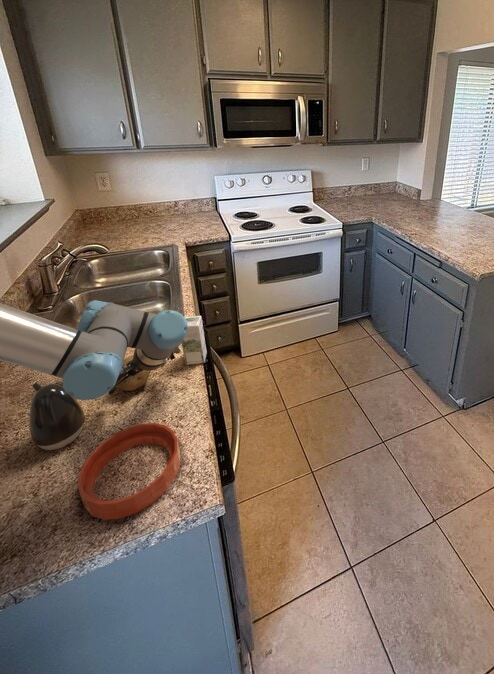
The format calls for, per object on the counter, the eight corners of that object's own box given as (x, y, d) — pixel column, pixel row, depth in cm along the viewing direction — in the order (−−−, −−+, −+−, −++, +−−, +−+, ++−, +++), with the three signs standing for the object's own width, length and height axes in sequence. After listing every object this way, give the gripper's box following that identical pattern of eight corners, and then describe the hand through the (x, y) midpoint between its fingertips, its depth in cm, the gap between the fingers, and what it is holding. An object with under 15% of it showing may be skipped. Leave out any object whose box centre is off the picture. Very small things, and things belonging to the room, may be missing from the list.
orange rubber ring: (73, 538, 64) (66, 520, 63) (94, 455, 80) (89, 438, 79) (181, 500, 71) (177, 482, 69) (180, 429, 87) (177, 413, 85)
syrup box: (207, 353, 114) (201, 314, 109) (204, 365, 109) (198, 324, 104) (189, 355, 113) (182, 316, 108) (185, 368, 108) (177, 326, 103)
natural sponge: (147, 398, 96) (140, 368, 93) (112, 402, 95) (104, 372, 92) (157, 375, 105) (151, 347, 101) (125, 379, 104) (118, 350, 100)
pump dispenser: (72, 415, 91) (56, 366, 86) (97, 430, 87) (82, 379, 82) (26, 447, 83) (6, 395, 77) (52, 465, 78) (32, 411, 73)
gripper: (103, 396, 73) (91, 417, 87) (208, 338, 91) (184, 363, 105) (87, 364, 74) (78, 390, 88) (193, 313, 92) (172, 341, 106)
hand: (136, 375), depth 97 cm, fingers open, 13 cm apart
